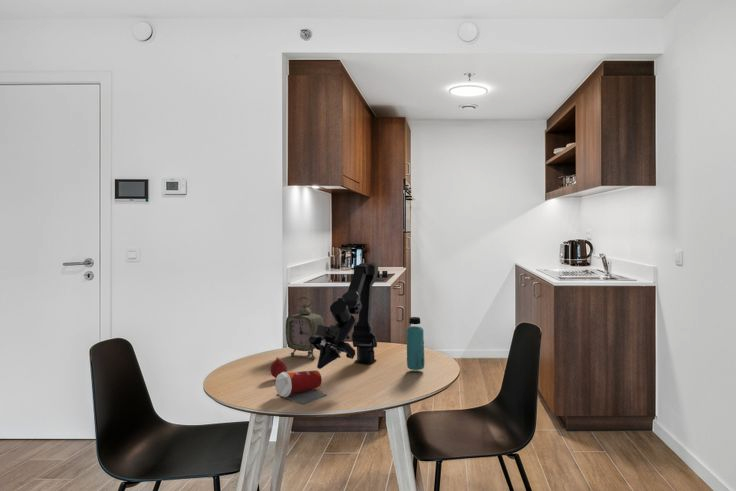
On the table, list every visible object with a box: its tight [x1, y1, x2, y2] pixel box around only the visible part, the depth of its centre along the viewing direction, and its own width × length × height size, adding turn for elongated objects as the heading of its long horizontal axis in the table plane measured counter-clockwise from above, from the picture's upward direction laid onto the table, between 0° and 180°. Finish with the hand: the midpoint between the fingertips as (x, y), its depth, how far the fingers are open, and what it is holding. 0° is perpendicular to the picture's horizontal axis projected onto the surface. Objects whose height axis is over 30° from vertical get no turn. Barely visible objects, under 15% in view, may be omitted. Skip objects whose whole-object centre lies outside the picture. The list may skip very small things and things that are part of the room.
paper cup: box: [274, 370, 323, 398], centre depth 151 cm, size 8×8×14 cm
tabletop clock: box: [285, 296, 325, 360], centre depth 195 cm, size 14×9×25 cm, turn 58°
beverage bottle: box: [406, 316, 425, 371], centre depth 171 cm, size 6×7×20 cm
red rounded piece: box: [269, 356, 288, 379], centre depth 166 cm, size 6×6×8 cm
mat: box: [276, 389, 328, 405], centre depth 150 cm, size 13×10×1 cm
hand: (318, 368), depth 155 cm, fingers closed
